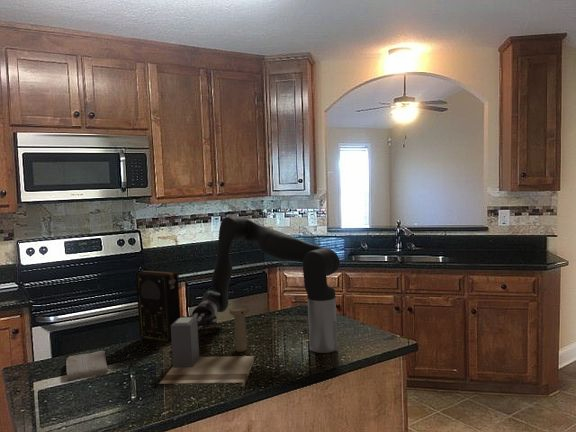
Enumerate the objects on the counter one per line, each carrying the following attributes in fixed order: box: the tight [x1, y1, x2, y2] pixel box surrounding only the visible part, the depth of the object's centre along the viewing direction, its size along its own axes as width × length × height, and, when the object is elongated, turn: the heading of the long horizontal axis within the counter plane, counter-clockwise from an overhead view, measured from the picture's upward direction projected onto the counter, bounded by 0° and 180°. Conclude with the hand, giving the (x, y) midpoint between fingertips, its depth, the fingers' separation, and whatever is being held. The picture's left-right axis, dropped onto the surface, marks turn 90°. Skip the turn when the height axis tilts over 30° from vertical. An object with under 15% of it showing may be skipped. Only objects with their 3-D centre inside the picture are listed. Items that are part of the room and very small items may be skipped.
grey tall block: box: [171, 316, 200, 368], centre depth 151 cm, size 6×8×14 cm
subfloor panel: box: [158, 355, 255, 387], centre depth 146 cm, size 24×20×1 cm
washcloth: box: [65, 350, 109, 381], centre depth 155 cm, size 12×18×3 cm, turn 25°
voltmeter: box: [135, 270, 181, 343], centre depth 180 cm, size 16×9×25 cm, turn 60°
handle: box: [229, 306, 250, 353], centre depth 161 cm, size 5×6×15 cm
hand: (192, 327), depth 161 cm, fingers closed
